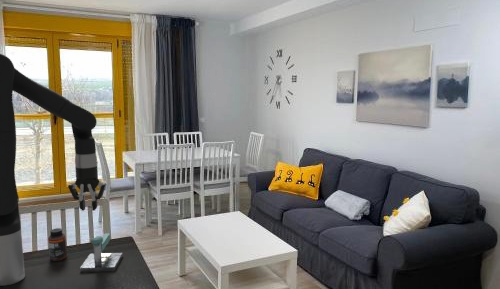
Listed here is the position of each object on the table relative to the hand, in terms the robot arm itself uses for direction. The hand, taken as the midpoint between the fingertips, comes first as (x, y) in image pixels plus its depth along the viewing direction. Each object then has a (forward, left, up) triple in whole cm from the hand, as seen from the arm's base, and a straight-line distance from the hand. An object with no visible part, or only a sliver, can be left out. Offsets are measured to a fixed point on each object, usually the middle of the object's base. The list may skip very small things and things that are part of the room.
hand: (88, 209), depth 150 cm
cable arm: (+5, -4, -13) cm, 15 cm away
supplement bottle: (-13, +1, -19) cm, 23 cm away
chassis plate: (+5, -5, -19) cm, 21 cm away
